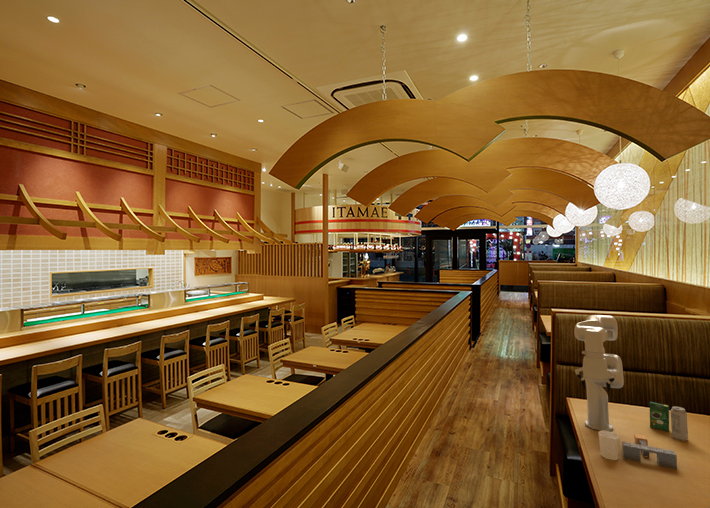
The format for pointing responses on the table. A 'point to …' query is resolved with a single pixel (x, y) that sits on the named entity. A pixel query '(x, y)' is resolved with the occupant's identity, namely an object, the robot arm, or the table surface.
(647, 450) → the grey long block
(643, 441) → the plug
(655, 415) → the coffee box
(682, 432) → the energy drink can
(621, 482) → the table surface
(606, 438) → the white cup
